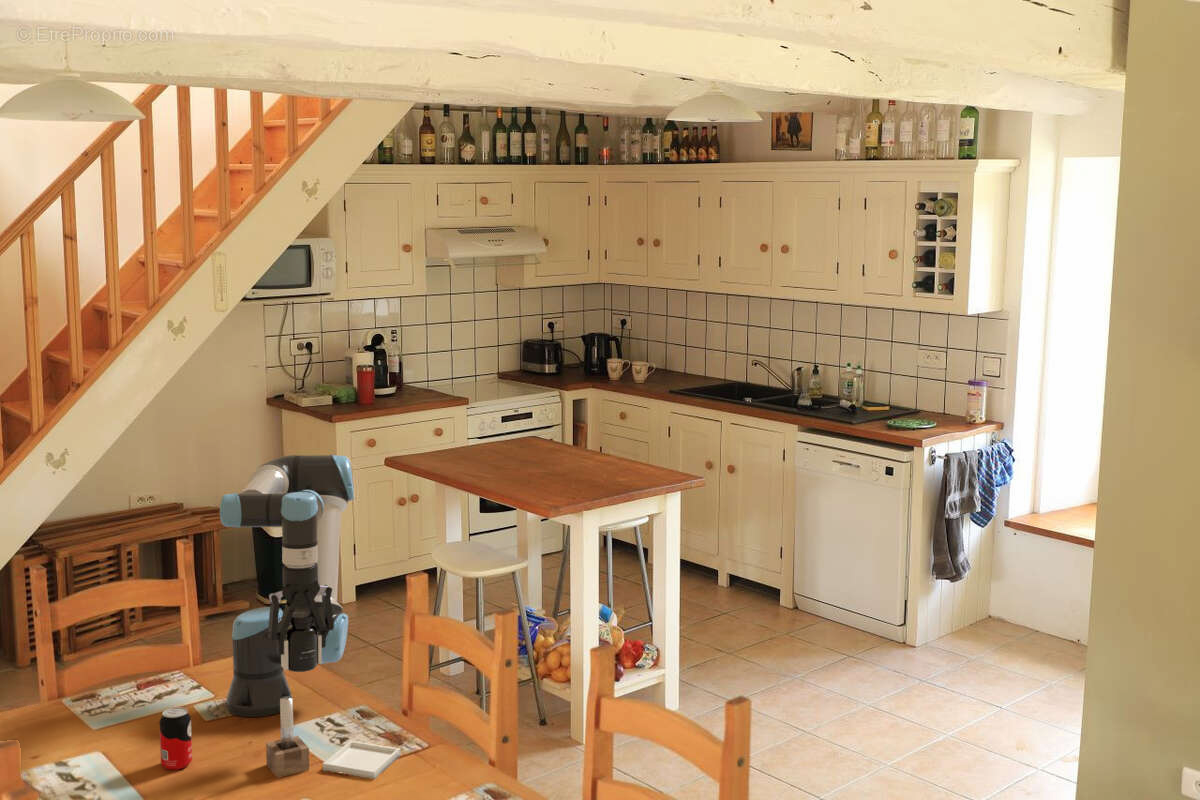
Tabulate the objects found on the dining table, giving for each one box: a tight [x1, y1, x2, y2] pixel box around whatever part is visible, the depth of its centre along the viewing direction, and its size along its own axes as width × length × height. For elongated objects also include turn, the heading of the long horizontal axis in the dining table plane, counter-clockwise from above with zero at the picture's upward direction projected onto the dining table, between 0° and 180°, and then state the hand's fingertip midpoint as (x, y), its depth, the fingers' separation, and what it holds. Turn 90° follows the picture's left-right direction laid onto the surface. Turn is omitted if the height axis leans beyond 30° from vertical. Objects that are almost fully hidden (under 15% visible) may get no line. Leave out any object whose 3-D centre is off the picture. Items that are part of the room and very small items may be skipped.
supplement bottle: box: [286, 612, 318, 673], centre depth 263 cm, size 7×7×12 cm
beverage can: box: [159, 706, 193, 771], centre depth 255 cm, size 6×6×12 cm
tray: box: [322, 740, 401, 780], centre depth 259 cm, size 12×12×2 cm
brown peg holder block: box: [265, 735, 310, 778], centre depth 256 cm, size 7×7×5 cm
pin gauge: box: [279, 696, 295, 750], centre depth 255 cm, size 3×3×14 cm
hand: (301, 664), depth 263 cm, fingers closed on supplement bottle, 7 cm apart
